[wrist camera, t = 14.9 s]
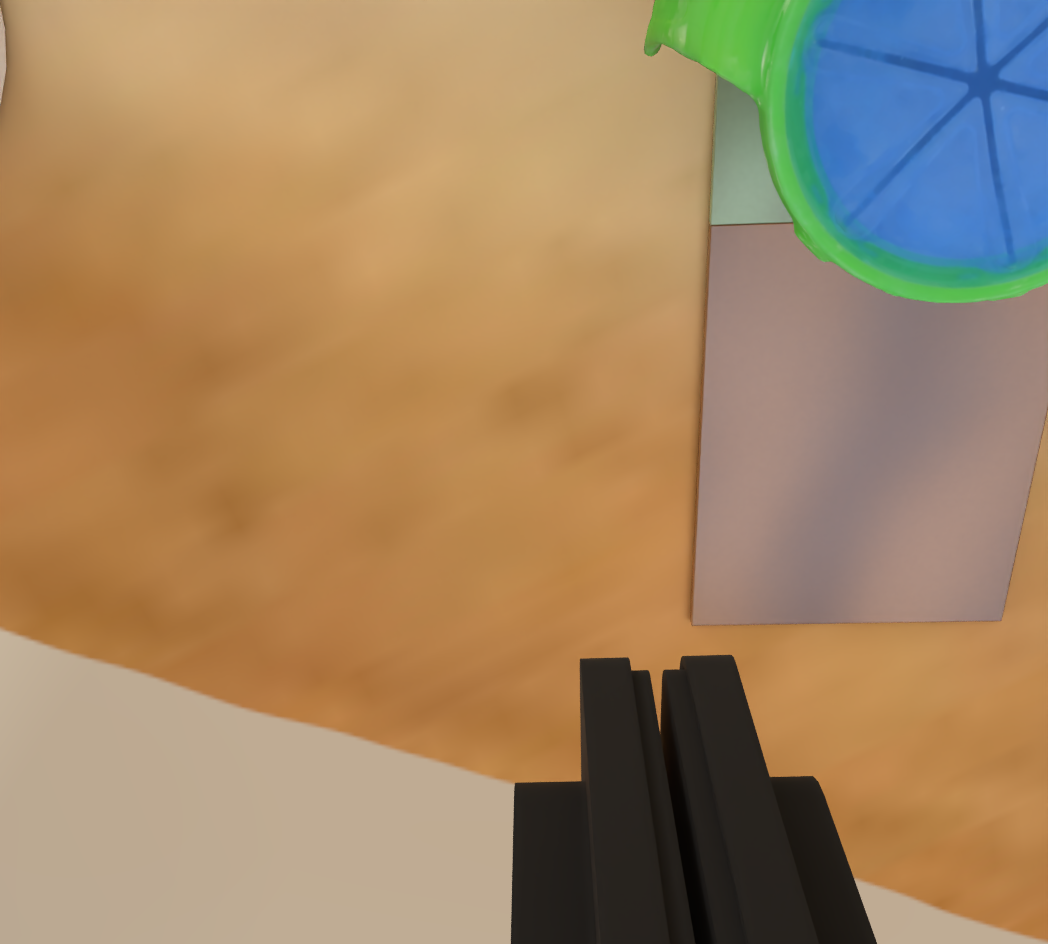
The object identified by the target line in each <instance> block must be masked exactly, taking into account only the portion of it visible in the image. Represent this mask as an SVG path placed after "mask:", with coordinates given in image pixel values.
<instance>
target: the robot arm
mask: <svg viewBox="0 0 1048 944" xmlns="http://www.w3.org/2000/svg"><path fill="white" fill-rule="evenodd" d="M5 74H6V40H5V26H4V21H3V16H2V12H1V7H0V104H1V100H2V93H3V87H4V80H5ZM580 713H581V781H577V782H532V783H515V791H514V826H513V828H514V829H513V872H512V919H511V921H512V922H511V944H877V942H876V939H875V937H874V934H873V931H872V928H871V925H870V922H869V920H868V917H867V914H866V911H865V908H864V906H863V903H862V900H861V897H860V894H859V892H858V889H857V886H856V883H855V880H854V878H853V875H852V872H851V869H850V866H849V864H848V861H847V858H846V855H845V852H844V850H843V847H842V844H841V841H840V838H839V836H838V833H837V830H836V827H835V824H834V822H833V819H832V816H831V813H830V810H829V808H828V805H827V802H826V799H825V796H824V794H823V791H822V789H821V787H820V785H819V782H818V781H817V780H816V779H815V778H814V777H813V776H800V777H769V773H768V770H767V767H766V763H765V760H764V757H763V753H762V750H761V746H760V743H759V740H758V736H757V733H756V730H755V726H754V723H753V719H752V716H751V713H750V709H749V706H748V703H747V699H746V696H745V692H744V689H743V686H742V682H741V679H740V676H739V672H738V669H737V665H736V662H735V660H734V657H733V656H732V655H709V656H682V658H681V662H680V670H664V671H663V675H662V700H661V730H660V731H659V726H658V720H657V714H656V708H655V702H654V696H653V690H652V684H651V678H650V673H649V671H648V670H640V671H631V666H630V660H629V658H590V659H580Z"/></svg>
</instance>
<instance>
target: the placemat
mask: <svg viewBox="0 0 1048 944" xmlns="http://www.w3.org/2000/svg"><path fill="white" fill-rule="evenodd" d="M1047 410H1048V283H1047V284H1045V285H1043V286H1041V287H1038V288H1035V289H1032V290H1030V291H1028V292H1027V293H1025V294H1024V295H1022V296H1019V297H1013V298H1007V299H1002V300H996V301H989V300H986V301H980V302H970V303H934V302H926V301H919V300H912V299H907V298H903V297H900V296H893V295H891V294H888V293H886V292H884V291H883V290H880V289H877V288H875V287H873V286H871V285H869V284H867V283H865V282H863V281H861V280H860V279H858V278H856V277H854V276H852V275H851V274H849V273H848V272H846V271H845V270H843V269H842V268H840V267H839V266H838V265H836V264H835V263H833V262H823V261H821V260H819V259H818V258H817V257H816V256H815V255H814V254H813V253H812V252H811V251H810V250H809V249H808V248H807V247H806V246H805V245H804V244H803V243H802V242H801V241H800V240H799V239H798V237H797V236H796V234H795V233H794V224H793V220H792V218H791V216H790V215H789V213H788V212H787V210H786V208H785V206H784V205H783V203H782V201H781V199H780V197H779V195H778V193H777V191H776V189H775V186H774V184H773V182H772V178H771V175H770V172H769V169H768V166H767V161H766V159H765V155H764V149H763V145H762V138H761V132H760V127H759V112H758V107H757V105H756V103H755V101H754V100H753V99H752V98H751V97H750V96H749V95H748V94H747V93H745V92H743V91H741V90H740V89H739V88H737V87H736V86H735V85H733V84H732V83H730V82H729V81H727V80H725V79H723V78H721V77H720V76H719V75H717V74H716V84H715V106H714V127H713V149H712V170H711V192H710V213H709V235H708V256H707V278H706V299H705V321H704V342H703V364H702V385H701V407H700V428H699V450H698V471H697V493H696V514H695V536H694V557H693V579H692V600H691V625H692V626H699V625H766V624H833V623H900V622H967V621H1001V620H1002V616H1003V611H1004V607H1005V602H1006V597H1007V593H1008V588H1009V584H1010V579H1011V575H1012V570H1013V566H1014V561H1015V556H1016V552H1017V547H1018V543H1019V538H1020V534H1021V529H1022V524H1023V520H1024V515H1025V511H1026V506H1027V502H1028V497H1029V492H1030V488H1031V483H1032V479H1033V474H1034V470H1035V465H1036V460H1037V456H1038V451H1039V447H1040V442H1041V438H1042V433H1043V429H1044V424H1045V419H1046V415H1047Z"/></svg>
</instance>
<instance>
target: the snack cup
mask: <svg viewBox="0 0 1048 944" xmlns="http://www.w3.org/2000/svg"><path fill="white" fill-rule="evenodd" d="M661 44H664V45H666V46H668V47H670V48H672V49H674V50H675V51H677V52H678V53H680V54H682V55H683V56H685V57H686V58H688V59H691V60H694V61H696V62H698V63H700V64H701V65H703V66H704V67H706V68H707V69H709V70H711V71H713V72H715V73H716V74H717V75H719V76H720V77H721V78H723V79H725V80H727V81H729V82H730V83H732V84H733V85H735V86H736V87H737V88H739V89H740V90H741V91H743V92H745V93H747V94H748V95H749V96H750V97H751V98H752V99H753V100H754V101H755V103H756V105H757V107H758V112H759V127H760V132H761V138H762V145H763V149H764V155H765V159H766V161H767V166H768V169H769V172H770V175H771V178H772V182H773V184H774V186H775V189H776V191H777V193H778V195H779V197H780V199H781V201H782V203H783V205H784V206H785V208H786V210H787V212H788V213H789V215H790V216H791V218H792V220H793V224H794V233H795V234H796V236H797V237H798V239H799V240H800V241H801V242H802V243H803V244H804V245H805V246H806V247H807V248H808V249H809V250H810V251H811V252H812V253H813V254H814V255H815V256H816V257H817V258H818V259H819V260H821V261H823V262H833V263H835V264H836V265H838V266H839V267H840V268H842V269H843V270H845V271H846V272H848V273H849V274H851V275H852V276H854V277H856V278H858V279H860V280H861V281H863V282H865V283H867V284H869V285H871V286H873V287H875V288H877V289H880V290H883V291H884V292H886V293H888V294H891V295H893V296H900V297H903V298H907V299H912V300H919V301H926V302H934V303H970V302H980V301H986V300H989V301H996V300H1002V299H1007V298H1013V297H1019V296H1022V295H1024V294H1025V293H1027V292H1028V291H1030V290H1032V289H1035V288H1038V287H1041V286H1043V285H1045V284H1047V283H1048V0H655V2H654V6H653V12H652V18H651V20H650V23H649V26H648V30H647V35H646V39H645V46H644V51H645V54H646V55H648V56H653V55H655V54H656V53H657V52H658V51H659V49H660V47H661Z"/></svg>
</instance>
